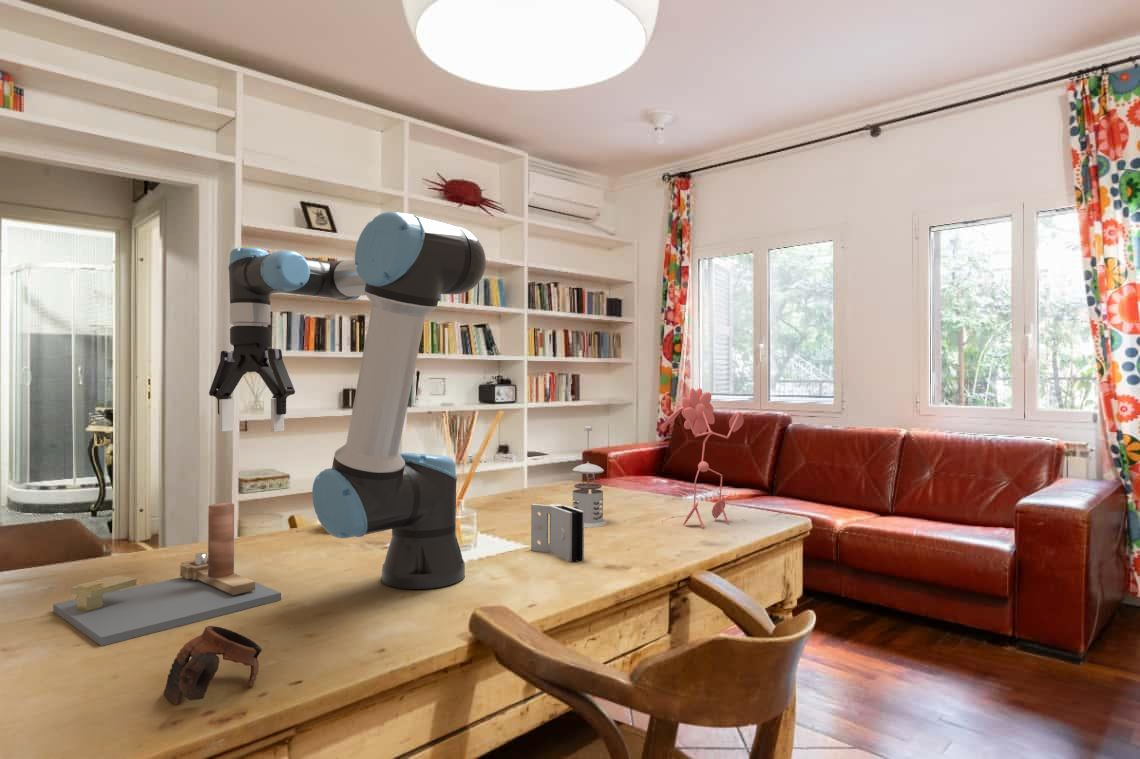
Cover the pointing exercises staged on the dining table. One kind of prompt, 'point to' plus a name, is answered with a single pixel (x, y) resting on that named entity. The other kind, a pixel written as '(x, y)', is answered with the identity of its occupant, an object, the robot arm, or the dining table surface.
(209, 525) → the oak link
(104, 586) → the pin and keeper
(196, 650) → the brown curved piece
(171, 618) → the charcoal board
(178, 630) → the dining table surface
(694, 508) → the pink stick figure
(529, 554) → the dining table surface
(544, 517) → the hinge
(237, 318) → the robot arm
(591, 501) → the french press
